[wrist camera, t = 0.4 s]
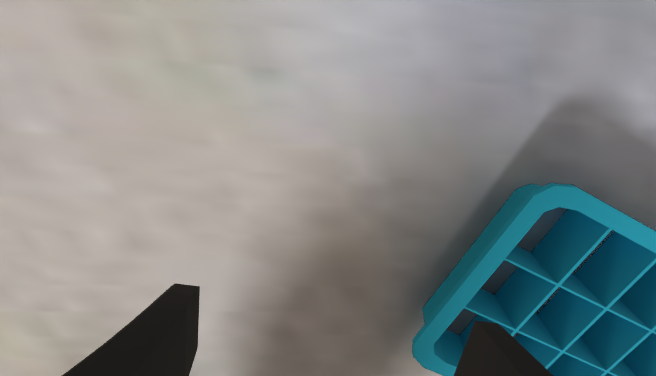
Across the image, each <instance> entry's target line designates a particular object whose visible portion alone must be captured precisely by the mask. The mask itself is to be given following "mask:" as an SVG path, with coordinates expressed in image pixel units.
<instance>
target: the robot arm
mask: <svg viewBox="0 0 656 376" xmlns="http://www.w3.org/2000/svg"><path fill="white" fill-rule="evenodd" d="M199 290H200V287H199V286H191V285H183V284H174V285H172V286H171V287H170V288H169V289H168V290H166V291H165V292H164V293H163V294H162V295H161V296H160V297H159V298H157V299H156V300H155V301H154V302H153V303H152V304H151V305H150V306H149V307H147V308H146V309H145V310H144V311H143V312H142V313H140V314H139V315H138V316H137V317H136V318H135V319H134V320H132V321H131V322H130V323H129V324H128V325H126V326H125V327H124V328H123V329H122V330H120V331H119V332H118V333H117V334H115V335H114V336H113V337H112V338H111V339H109V340H108V341H107V342H106V343H104V344H103V345H102V346H101V347H99V348H98V349H97V350H95V351H94V352H93V353H91V354H90V355H89V356H88V357H86V358H85V359H84V360H82V361H81V362H80V363H78V364H77V365H76V366H74V367H73V368H72V369H70V370H69V371H68V372H66V373H65V374H64V375H62V376H189V373H190V370H191V367H192V364H193V361H194V357H195V354H196V351H197V346H198V318H199ZM454 376H553V375H552V374H551V373H550V372H549V371H548V370H547V369H546V368H545V367H544V366H543V365H542V364H541V363H540V362H539V361H538V360H537V359H536V358H534V357H533V356H532V355H531V354H530V353H529V352H528V351H527V350H526V349H525V348H524V347H523V346H522V345H521V344H520V343H519V342H518V341H517V340H516V339H515V338H513V337H512V336H511V335H510V334H509V333H508V332H507V331H506V330H505V329H504V328H502V327H501V326H500V325H499V324H498V323H493V322H484V321H476V320H475V322H474V324H473V327H472V329H471V332H470V335H469V337H468V340H467V342H466V345H465V347H464V350H463V353H462V355H461V358H460V360H459V363H458V366H457V368H456V371H455V373H454Z"/></svg>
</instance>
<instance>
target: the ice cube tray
mask: <svg viewBox="0 0 656 376" xmlns="http://www.w3.org/2000/svg"><path fill="white" fill-rule="evenodd" d="M558 207H561V208H566V209H568V210H567V211H566V212H565V213H564V215H563V216H562V217H561V218H560V219H559V220H558V222H557V223H556V224H555V225H554V226H553V227H552V229H551V230H550V231H549V232H548V233H547V234H546V236H545V237H544V238H543V239H542V240H541V241H540V243H539V244H538V245H537V246H536V247H535V248H534V250H533V251H532V252H531V253H530V252H528V251H526V250H524V249H522V248H521V247H519V246H517V244H518V243H519V242H520V240H521V239H522V238H523V237H524V236H525V234H526V233H527V232H528V231H529V230H530V228H531V227H532V226H533V225H534V224H535V223H536V221H537V220H538V219H539V218H540V217H541V215H542V214H543V213H544V212H547V211H549V210H552V209H555V208H558ZM612 230H614V233H613V234H612V235H611V236H610V237H609V238H608V239H607V240H606V241H605V242H604V243H603V244H602V245H601V246H600V248H599V249H598V250H597V251H596V252H595V253H594V254H593V255H592V256H591V257H590V258H589V259H588V260H587V261H586V262H585V264H584V265H583V266H582V267H581V268H580V269H579V270H578V271H577V272H576V273H575V274H572V272H573V271H574V270H575V269H576V268H577V267H578V266H579V265H580V264H581V263H582V262H583V261H584V259H585V258H586V257H587V256H588V255H589V254H590V253H591V252H592V251H593V250H594V249H595V248H596V247H597V246H598V244H599V243H600V242H601V241H602V240H603V239H604V238H605V237H606V236H607V235H608V234H609V233H610V232H611V231H612ZM504 260H505V261H508V262H510V263H512V264H514V265H516V266H518V268H517V269H516V270H515V272H514V273H513V274H512V275H511V276H510V277H509V279H508V280H507V281H506V282H505V283H504V284H503V286H502V287H501V288H500V289H499V290H498V291H497V293H496V294H495V295H494V294H492V293H490V292H488V291H485V290H483V289H481V287H482V286H483V285H484V283H485V282H486V281H487V280H488V279H489V278H490V276H491V275H492V274H493V273H494V272H495V270H496V269H497V268H498V267H499V266H500V264H501V263H502V262H503V261H504ZM558 287H560V288H561V289H560V290H559V291H558V292H557V293H556V295H555V296H554V297H553V298H552V299H551V300H550V301H549V302H548V303H547V304H546V305H545V306H544V307H543V308H542V310H541V311H540V312H539V313H538V314H535V312H536V311H537V310H538V309H539V308H540V307H541V306H542V305H543V303H544V302H545V301H546V300H547V299H548V298H549V297H550V296H551V295H552V294H553V293H554V292H555V291H556V290H557V288H558ZM464 308H465V309H467V310H469V311H471V312H474V313H476V314H478V315H477V316H476V317H475V318H474V319H473V320H472V322H471V323H470V324H469V325H468V326H467V327H466V329H465V330H464V331H463V332H462V333H461V334H460V335H458V334H455V333H453V332H451V331H448V330H446V329H447V328H448V327H449V325H450V324H451V323H452V322H453V321H454V319H455V318H456V317H457V316H458V315H459V313H460V312H461V311H462V310H463V309H464ZM423 315H424V321H425V325H424V326H423V327H422V329H421V330H420V331H419V332H418V333H417V335H416V336H415V337H414V338H413V346H412V353H413V357H414V358H415V359H416V360H417V361H418V362H419V363H420V364H421V365H422V366H423V367H424V368H426V369H429V370H431V371H434V372H436V373H438V374H441V375H443V376H454V373H455V371H456V368H457V366H458V363H459V360H460V358H461V355H462V353H463V350H464V347H465V345H466V342H467V340H468V337H469V335H470V332H471V329H472V327H473V324H474V322H475V320H476V321H484V322H493V323H498V324H499V325H500V326H501V327H502V328H504V329H505V330H506V331H507V332H508V333H509V334H510V335H511V336H512V337H513V336H514V335H515V334H516V332H518V333H519V334H518V335H517V336H516V337H515V339H516V340H517V341H518V342H519V343H520V344H521V345H522V346H523V347H524V348H525V349H526V350H527V351H528V352H529V353H530V354H531V355H532V356H533V357H534V358H536V359H537V360H538V361H539V362H540V363H541V364H542V365H543V366H544V367H545V368H546V369H547V370H548V371H549V372H550V373H551V374H552V375H553V376H656V231H655V230H653V229H651V228H649V227H647V226H646V225H644V224H642V223H640V222H638V221H637V220H635V219H633V218H631V217H629V216H628V215H626V214H624V213H622V212H621V211H619V210H617V209H615V208H613V207H612V206H610V205H608V204H606V203H604V202H603V201H601V200H599V199H597V198H595V197H594V196H592V195H590V194H588V193H587V192H585V191H583V190H581V189H579V188H578V187H576V186H574V185H572V184H557V183H549V184H547V185H545V186H540V185H535V184H529V185H526V186H523V187H521V188H518V189H516V190H515V191H514V192H513V194H512V195H511V196H510V198H509V199H508V200H507V201H506V203H505V204H504V205H503V206H502V208H501V209H500V210H499V212H498V213H497V214H496V215H495V217H494V218H493V219H492V221H491V222H490V223H489V224H488V226H487V227H486V228H485V229H484V231H483V232H482V233H481V235H480V236H479V237H478V238H477V240H476V241H475V242H474V244H473V245H472V246H471V247H470V249H469V250H468V251H467V252H466V254H465V255H464V256H463V258H462V259H461V260H460V261H459V263H458V264H457V265H456V266H455V268H454V269H453V270H452V272H451V273H450V274H449V275H448V277H447V278H446V279H445V281H444V282H443V283H442V284H441V286H440V287H439V288H438V289H437V291H436V292H435V293H434V295H433V296H432V297H431V298H430V300H429V301H428V302H427V303H426V305H425V306H424V307H423Z"/></svg>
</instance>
